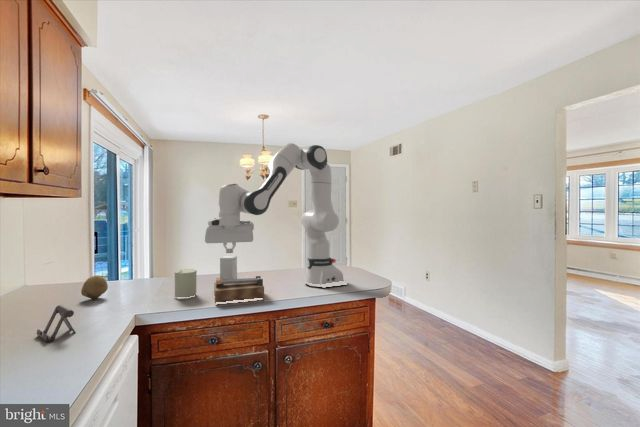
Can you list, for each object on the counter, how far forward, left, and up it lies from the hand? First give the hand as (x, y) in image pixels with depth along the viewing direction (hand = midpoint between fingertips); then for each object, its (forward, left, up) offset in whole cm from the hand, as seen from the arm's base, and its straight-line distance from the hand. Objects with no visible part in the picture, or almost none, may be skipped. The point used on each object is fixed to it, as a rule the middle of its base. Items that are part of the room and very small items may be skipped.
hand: (229, 252), depth 135 cm
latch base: (-4, 0, -20) cm, 21 cm away
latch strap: (-4, 0, -13) cm, 14 cm away
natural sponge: (+54, -18, -21) cm, 61 cm away
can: (+18, -10, -21) cm, 29 cm away
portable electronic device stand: (+53, +22, -21) cm, 61 cm away
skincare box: (-1, -19, -21) cm, 28 cm away
